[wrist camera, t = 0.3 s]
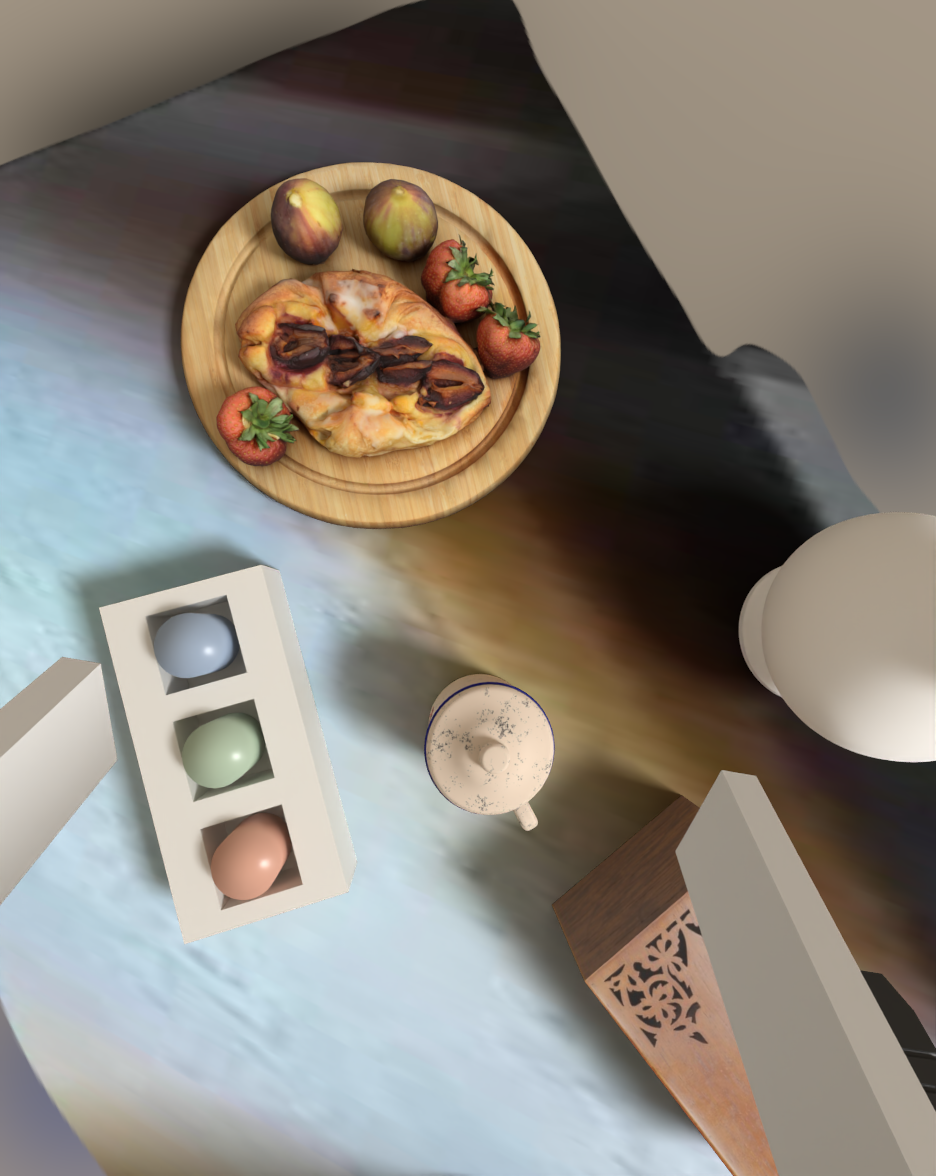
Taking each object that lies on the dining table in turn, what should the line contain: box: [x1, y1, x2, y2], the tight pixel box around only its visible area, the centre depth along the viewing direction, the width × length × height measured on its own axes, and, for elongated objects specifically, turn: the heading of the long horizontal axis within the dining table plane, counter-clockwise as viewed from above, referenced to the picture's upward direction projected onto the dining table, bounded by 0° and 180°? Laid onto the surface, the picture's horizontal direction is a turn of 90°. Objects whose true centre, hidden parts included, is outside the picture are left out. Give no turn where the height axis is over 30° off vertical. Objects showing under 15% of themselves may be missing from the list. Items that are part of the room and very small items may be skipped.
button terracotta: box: [211, 813, 292, 900], centre depth 40 cm, size 5×5×4 cm
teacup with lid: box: [424, 674, 554, 831], centre depth 41 cm, size 12×9×12 cm
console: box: [99, 565, 357, 944], centre depth 43 cm, size 25×12×5 cm, turn 16°
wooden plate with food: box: [181, 162, 560, 529], centre depth 44 cm, size 32×32×8 cm
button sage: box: [182, 713, 266, 788], centre depth 41 cm, size 5×5×4 cm
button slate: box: [154, 613, 240, 678], centre depth 41 cm, size 5×5×4 cm
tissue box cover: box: [552, 795, 779, 1176], centre depth 42 cm, size 26×14×10 cm, turn 37°
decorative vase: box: [739, 512, 936, 762], centre depth 36 cm, size 18×18×25 cm
